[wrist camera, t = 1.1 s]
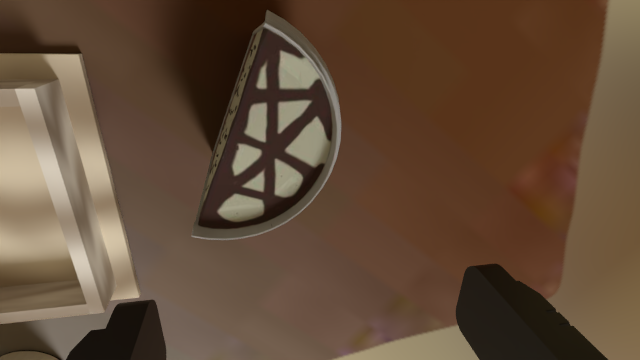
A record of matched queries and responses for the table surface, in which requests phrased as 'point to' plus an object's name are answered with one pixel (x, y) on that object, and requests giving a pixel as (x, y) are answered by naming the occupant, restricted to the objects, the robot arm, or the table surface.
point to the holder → (56, 195)
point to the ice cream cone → (27, 356)
